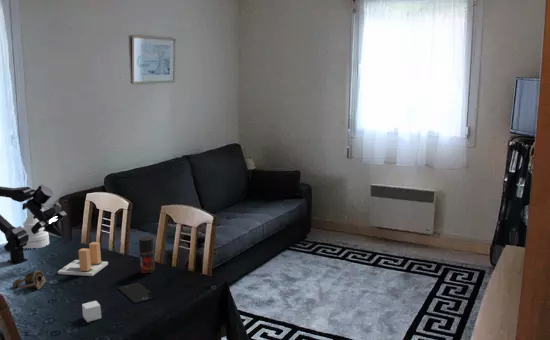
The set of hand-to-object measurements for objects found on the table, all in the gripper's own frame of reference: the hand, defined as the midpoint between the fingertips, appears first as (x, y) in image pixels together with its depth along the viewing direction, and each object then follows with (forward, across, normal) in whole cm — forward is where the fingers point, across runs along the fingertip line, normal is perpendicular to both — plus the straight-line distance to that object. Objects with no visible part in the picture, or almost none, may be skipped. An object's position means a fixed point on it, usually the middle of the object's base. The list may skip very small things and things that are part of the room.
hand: (62, 236), depth 242 cm
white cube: (+38, -44, -22) cm, 62 cm away
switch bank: (+18, -3, +1) cm, 18 cm away
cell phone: (+42, -22, -25) cm, 54 cm away
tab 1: (+19, -7, -3) cm, 21 cm away
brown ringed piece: (+10, -25, +8) cm, 29 cm away
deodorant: (+38, 0, -20) cm, 43 cm away
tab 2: (+19, +1, -3) cm, 19 cm away
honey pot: (-11, +21, +33) cm, 40 cm away
